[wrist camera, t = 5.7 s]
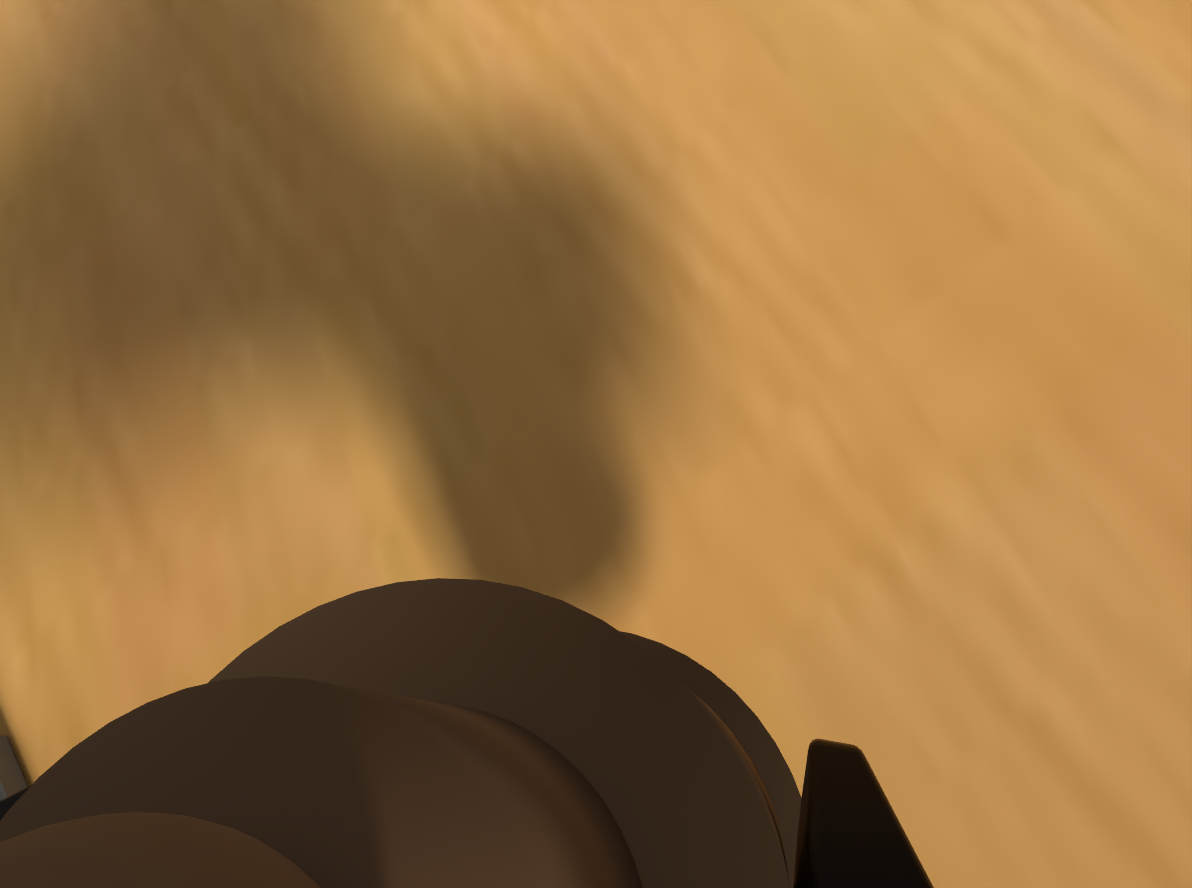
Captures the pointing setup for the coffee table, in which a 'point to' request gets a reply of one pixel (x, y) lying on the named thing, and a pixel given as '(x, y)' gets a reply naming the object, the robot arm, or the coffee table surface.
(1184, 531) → the coffee table surface
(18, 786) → the slate open box
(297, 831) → the pepper mill
